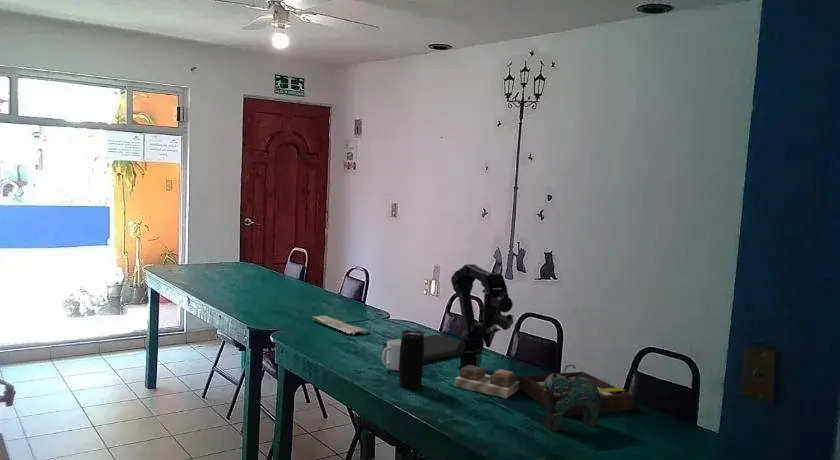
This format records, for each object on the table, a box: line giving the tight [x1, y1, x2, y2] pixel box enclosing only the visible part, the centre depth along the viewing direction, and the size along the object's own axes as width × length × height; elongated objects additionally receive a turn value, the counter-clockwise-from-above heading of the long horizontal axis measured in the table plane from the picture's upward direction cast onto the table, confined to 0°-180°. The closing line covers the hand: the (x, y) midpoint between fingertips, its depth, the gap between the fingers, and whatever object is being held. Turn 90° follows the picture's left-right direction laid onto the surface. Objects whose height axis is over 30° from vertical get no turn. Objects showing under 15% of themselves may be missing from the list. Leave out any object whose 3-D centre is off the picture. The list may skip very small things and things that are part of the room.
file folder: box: [382, 333, 461, 365], centre depth 279 cm, size 33×4×24 cm
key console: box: [454, 365, 520, 399], centre depth 234 cm, size 20×12×6 cm, turn 60°
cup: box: [381, 339, 401, 372], centre depth 251 cm, size 8×12×10 cm
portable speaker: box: [398, 329, 425, 390], centre depth 231 cm, size 9×9×20 cm
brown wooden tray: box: [518, 371, 634, 417], centre depth 227 cm, size 28×7×30 cm
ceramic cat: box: [544, 364, 601, 433], centre depth 200 cm, size 20×6×20 cm, turn 114°
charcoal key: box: [464, 366, 483, 372], centre depth 237 cm, size 5×5×3 cm
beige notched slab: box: [312, 315, 372, 336], centre depth 314 cm, size 35×12×4 cm, turn 43°
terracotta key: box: [493, 368, 514, 379], centre depth 231 cm, size 5×5×3 cm
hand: (488, 347), depth 244 cm, fingers closed
